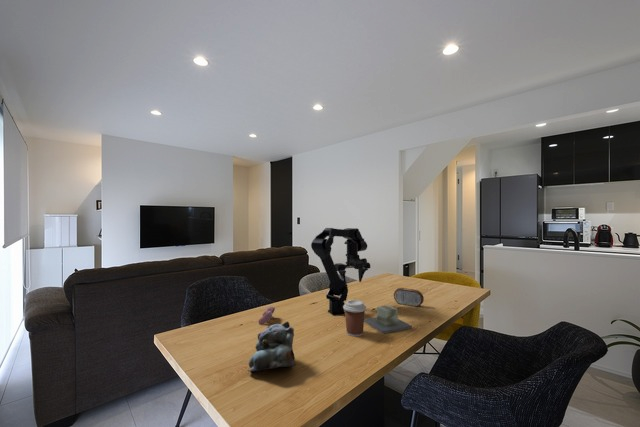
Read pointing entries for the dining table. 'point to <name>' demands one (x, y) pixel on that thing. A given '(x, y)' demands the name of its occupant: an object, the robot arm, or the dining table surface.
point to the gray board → (388, 328)
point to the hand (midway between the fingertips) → (352, 282)
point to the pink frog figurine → (267, 315)
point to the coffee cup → (354, 317)
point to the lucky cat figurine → (273, 348)
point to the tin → (408, 297)
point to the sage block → (387, 315)
